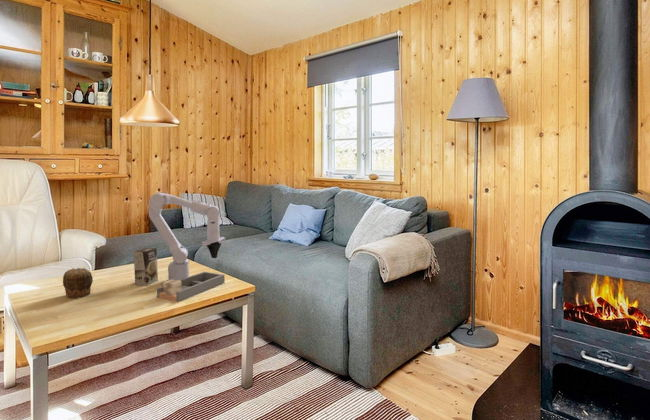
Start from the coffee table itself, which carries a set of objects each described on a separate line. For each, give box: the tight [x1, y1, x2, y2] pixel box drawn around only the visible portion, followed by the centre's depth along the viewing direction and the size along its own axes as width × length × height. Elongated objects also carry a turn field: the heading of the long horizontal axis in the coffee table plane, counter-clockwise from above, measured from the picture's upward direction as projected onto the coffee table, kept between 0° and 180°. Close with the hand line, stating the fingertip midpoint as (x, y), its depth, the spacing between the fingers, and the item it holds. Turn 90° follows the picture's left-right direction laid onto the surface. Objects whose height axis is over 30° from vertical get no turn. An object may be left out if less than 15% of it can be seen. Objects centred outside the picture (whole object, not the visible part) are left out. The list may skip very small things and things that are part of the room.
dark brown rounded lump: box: [62, 267, 94, 299], centre depth 174 cm, size 11×11×12 cm
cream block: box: [163, 279, 182, 296], centre depth 172 cm, size 5×5×5 cm
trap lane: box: [156, 271, 226, 303], centre depth 183 cm, size 12×29×4 cm, turn 155°
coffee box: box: [133, 247, 159, 287], centre depth 193 cm, size 9×6×16 cm
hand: (214, 257), depth 200 cm, fingers closed
